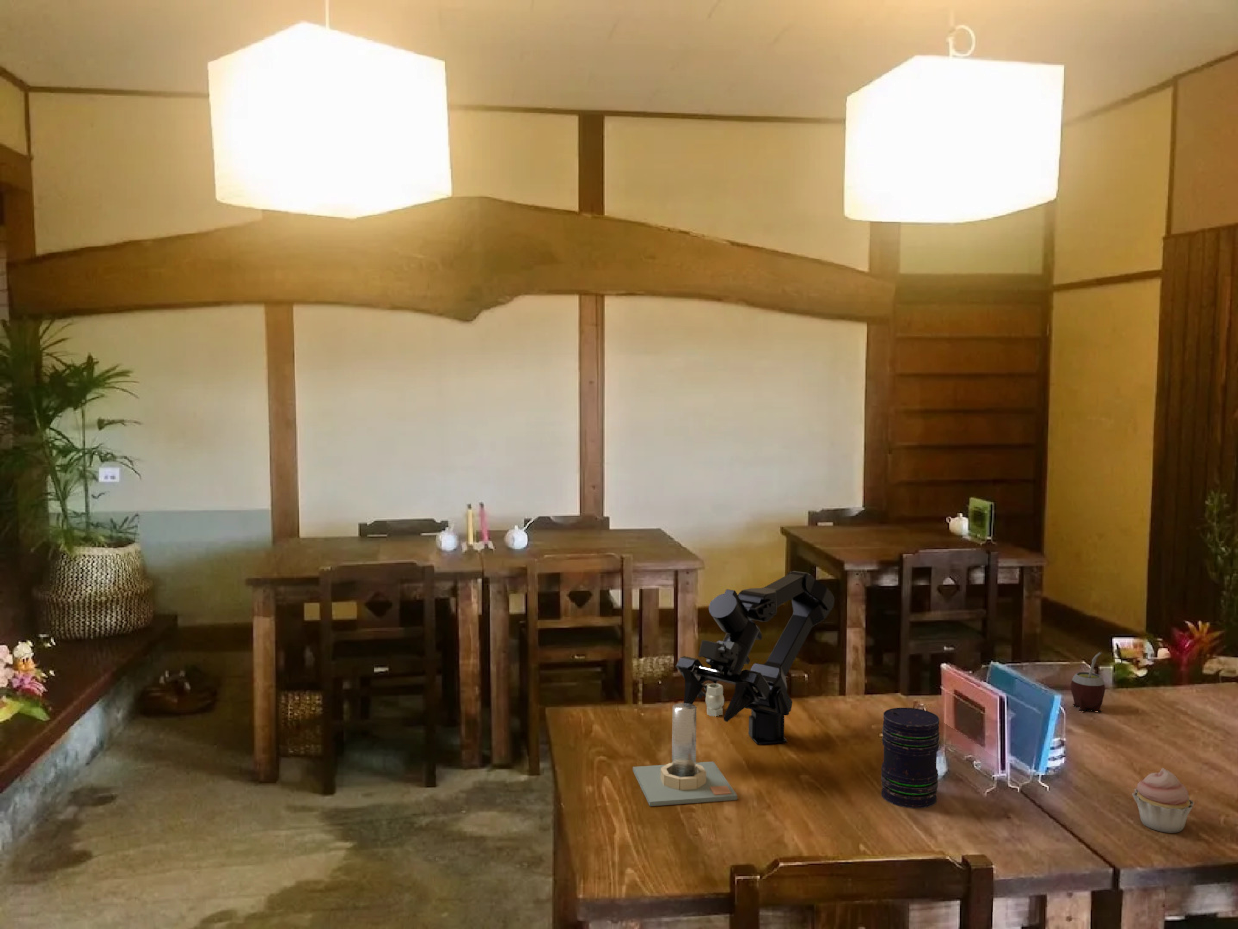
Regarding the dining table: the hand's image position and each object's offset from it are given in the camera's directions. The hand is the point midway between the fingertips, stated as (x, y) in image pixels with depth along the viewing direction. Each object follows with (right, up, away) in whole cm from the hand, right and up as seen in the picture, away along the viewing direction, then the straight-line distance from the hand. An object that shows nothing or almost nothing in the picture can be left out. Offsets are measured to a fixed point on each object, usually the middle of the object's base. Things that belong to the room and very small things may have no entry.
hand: (704, 715), depth 190 cm
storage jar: (+36, -13, -9) cm, 39 cm away
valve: (+5, -8, +38) cm, 40 cm away
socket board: (-4, -12, -4) cm, 13 cm away
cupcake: (+76, -14, -21) cm, 80 cm away
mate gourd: (+91, -8, +38) cm, 99 cm away
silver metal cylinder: (-4, -11, -4) cm, 13 cm away
